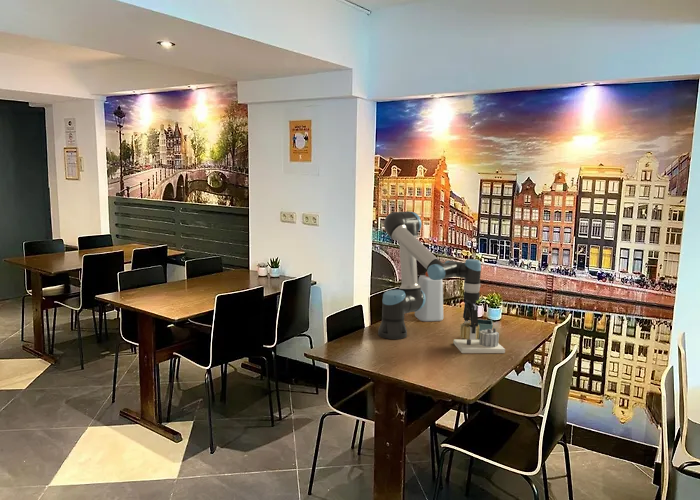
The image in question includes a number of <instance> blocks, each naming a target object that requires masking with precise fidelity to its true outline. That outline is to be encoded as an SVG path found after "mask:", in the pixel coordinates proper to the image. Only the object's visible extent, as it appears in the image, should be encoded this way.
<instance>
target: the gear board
mask: <svg viewBox="0 0 700 500" xmlns="http://www.w3.org/2000/svg"><path fill="white" fill-rule="evenodd" d="M499 339H500V333H499V332H498V331H497V328H496V327H492V329H487V330H482V331H480V339H475V340H470V339H456V338H455V339H453V345H454V346H455V347H456V348H457V349H458V351H459V352H460V353H462V354H505V353H506V348H504V346H502V345H501V344H500V343H499Z"/></svg>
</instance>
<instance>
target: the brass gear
mask: <svg viewBox="0 0 700 500" xmlns="http://www.w3.org/2000/svg"><path fill="white" fill-rule="evenodd" d="M470 325H471V322H470V323H464V322H462V323H460V326H459V327H460V328H459V331H460V333H459V338H461V339H462V340H467V339H470ZM478 338H479V325H478V326H477V327H476V339H475V340H478Z"/></svg>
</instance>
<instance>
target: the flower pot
mask: <svg viewBox="0 0 700 500" xmlns="http://www.w3.org/2000/svg"><path fill="white" fill-rule="evenodd" d="M478 325H479V338H477V340H479V339H480V331H482V330H487V329H492V330H493V328H494V324H493V320H492V319H491V320H490V319H479V318H478Z"/></svg>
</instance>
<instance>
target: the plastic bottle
mask: <svg viewBox="0 0 700 500" xmlns="http://www.w3.org/2000/svg"><path fill="white" fill-rule="evenodd" d="M417 281H418V285H420V286H421V290H422V291H423V293H424V294H425V297H426V301H425V305H424V306H423V307H422V308H421V309H420V310H418V311H415V312H414V317H415V318H417V320H418V321H421V322H441V321H443V319H444V285H443V281H444V279H441V280H432V279H430V278H429V276H428V273H427V271H426V272H425V275H424V274H423V275H420V276H419V277H418V279H417Z"/></svg>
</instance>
